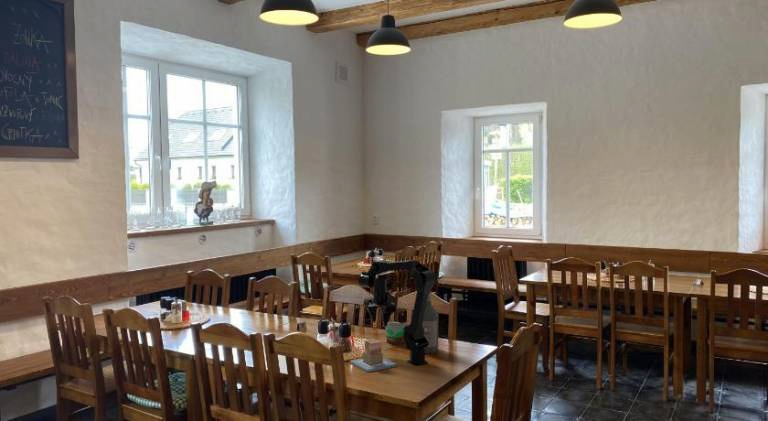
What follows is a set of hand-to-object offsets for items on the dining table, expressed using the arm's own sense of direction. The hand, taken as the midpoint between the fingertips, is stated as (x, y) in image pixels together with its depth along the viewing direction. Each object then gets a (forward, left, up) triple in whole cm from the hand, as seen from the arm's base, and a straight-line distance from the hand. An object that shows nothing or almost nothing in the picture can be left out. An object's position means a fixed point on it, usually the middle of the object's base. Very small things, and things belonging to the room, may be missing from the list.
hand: (379, 324), depth 266 cm
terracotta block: (-12, +11, -8) cm, 18 cm away
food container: (+10, -14, -13) cm, 22 cm away
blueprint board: (-12, +11, -13) cm, 21 cm away
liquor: (-8, -20, -13) cm, 25 cm away
